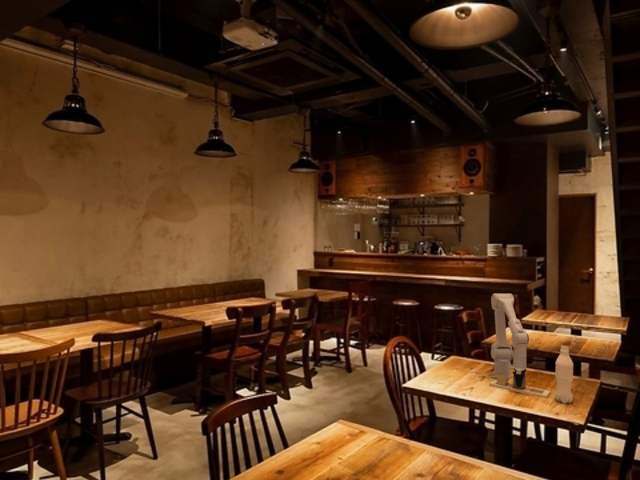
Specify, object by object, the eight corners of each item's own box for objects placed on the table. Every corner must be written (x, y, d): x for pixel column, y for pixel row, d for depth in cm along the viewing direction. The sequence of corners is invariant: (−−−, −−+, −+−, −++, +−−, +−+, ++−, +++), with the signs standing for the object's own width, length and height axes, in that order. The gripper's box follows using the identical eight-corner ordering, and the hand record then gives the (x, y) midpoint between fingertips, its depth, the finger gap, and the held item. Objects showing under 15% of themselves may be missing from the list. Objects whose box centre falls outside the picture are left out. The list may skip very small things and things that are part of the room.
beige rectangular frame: (494, 381, 233) (494, 379, 233) (550, 393, 216) (550, 391, 216) (489, 385, 227) (489, 383, 227) (546, 398, 210) (546, 395, 210)
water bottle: (572, 400, 208) (573, 345, 208) (573, 405, 202) (574, 348, 201) (554, 397, 211) (555, 343, 211) (555, 402, 205) (556, 347, 204)
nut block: (517, 386, 224) (517, 374, 224) (525, 388, 221) (525, 376, 221) (513, 387, 222) (513, 375, 222) (521, 390, 219) (521, 377, 219)
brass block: (499, 384, 230) (499, 372, 229) (507, 386, 227) (508, 374, 227) (496, 386, 226) (497, 374, 226) (505, 388, 224) (505, 375, 224)
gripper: (512, 352, 230) (511, 379, 230) (509, 359, 217) (509, 388, 217) (527, 354, 226) (526, 381, 227) (525, 361, 214) (525, 390, 214)
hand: (519, 385), depth 222 cm, fingers closed on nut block, 5 cm apart
